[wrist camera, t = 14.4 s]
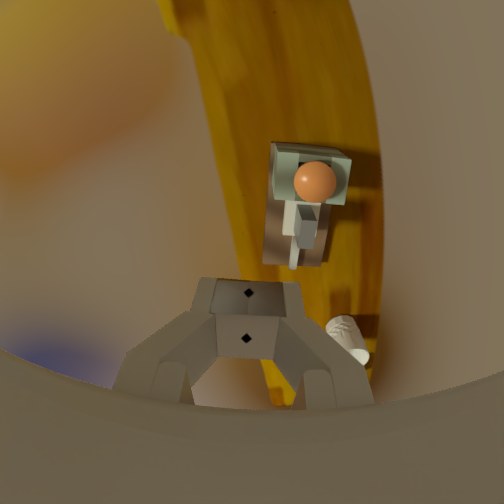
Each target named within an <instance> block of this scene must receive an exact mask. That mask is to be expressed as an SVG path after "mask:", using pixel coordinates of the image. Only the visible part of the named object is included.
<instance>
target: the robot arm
mask: <svg viewBox="0 0 504 504" xmlns="http://www.w3.org/2000/svg"><path fill="white" fill-rule="evenodd" d="M245 356H246V358H252V359H268V360H273V361H274V363H275V364H276V366H277V367H278V369H279V370H280V371H281V373H282V374H283V376H284V377H285V378H286V380H287V381H288V382H289V384H290V385H291V387H292V388H293V389H294V391H295V392H296V396H295V399H294V402H293V404H292V407H291V410H247V409H231V408H230V409H229V408H218V407H208V406H199V405H195V404H194V399H193V395H192V391H191V387H192V386H193V385H194V384H195V383H196V382H197V381H198V379H199V378H200V377H201V376H202V375H203V374H204V373H205V372H206V370H207V369H208V368H209V367H210V366H211V365H212V364H213V363H214V362H215V361H216V359H217V357H232V358H245ZM0 504H504V371H501V372H499V373H496V374H493V375H491V376H488V377H485V378H482V379H479V380H477V381H473V382H470V383H467V384H464V385H460V386H457V387H453V388H449V389H446V390H442V391H438V392H434V393H430V394H425V395H421V396H417V397H411V398H406V399H401V400H396V401H390V402H384V403H377V404H375V403H374V399H373V396H372V392H371V388H370V385H369V381H368V377H367V374H366V370H365V367H364V366H363V365H362V364H361V363H360V362H359V361H358V360H357V359H356V358H354V357H353V356H352V355H351V354H350V353H349V352H348V351H347V350H345V349H344V348H343V347H342V346H341V345H340V344H339V343H338V342H336V341H335V340H334V339H333V338H332V337H331V336H330V335H329V334H328V333H326V332H325V331H324V330H323V329H322V328H321V327H320V326H319V325H318V324H316V323H315V322H314V321H313V320H312V319H311V318H306V317H305V312H304V306H303V301H302V295H301V290H300V284H299V283H298V282H265V281H250V280H237V279H224V278H210V277H201V278H200V279H199V282H198V285H197V289H196V292H195V296H194V299H193V302H192V306H191V309H190V312H189V311H185V312H183V313H182V314H180V315H179V316H178V317H176V318H175V319H173V320H172V321H171V322H169V323H168V324H166V325H165V326H164V327H162V328H161V329H159V330H158V331H157V332H155V333H154V334H152V335H151V336H150V337H148V338H147V339H146V340H144V341H143V342H141V343H140V344H138V345H137V346H136V347H134V348H133V349H131V350H130V351H129V352H127V353H126V356H125V358H124V360H123V363H122V365H121V367H120V370H119V373H118V375H117V377H116V380H115V383H114V385H113V388H112V389H108V388H104V387H101V386H97V385H94V384H90V383H87V382H83V381H80V380H77V379H74V378H71V377H68V376H65V375H62V374H59V373H56V372H54V371H51V370H48V369H45V368H43V367H40V366H38V365H35V364H33V363H30V362H28V361H26V360H23V359H21V358H19V357H17V356H14V355H12V354H10V353H8V352H6V351H4V350H2V349H0Z"/></svg>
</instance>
